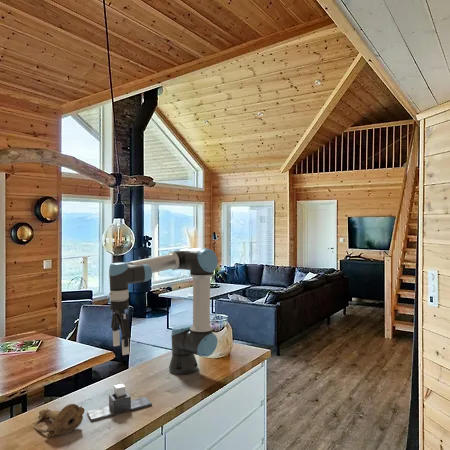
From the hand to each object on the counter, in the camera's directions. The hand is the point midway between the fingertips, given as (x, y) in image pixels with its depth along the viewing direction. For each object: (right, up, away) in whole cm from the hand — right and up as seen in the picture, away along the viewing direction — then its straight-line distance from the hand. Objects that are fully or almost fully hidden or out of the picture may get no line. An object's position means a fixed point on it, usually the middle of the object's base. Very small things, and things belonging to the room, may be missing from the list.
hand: (121, 350), depth 171 cm
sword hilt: (-23, -26, -11) cm, 37 cm away
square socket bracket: (0, -25, 0) cm, 25 cm away
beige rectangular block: (0, -25, 0) cm, 25 cm away
